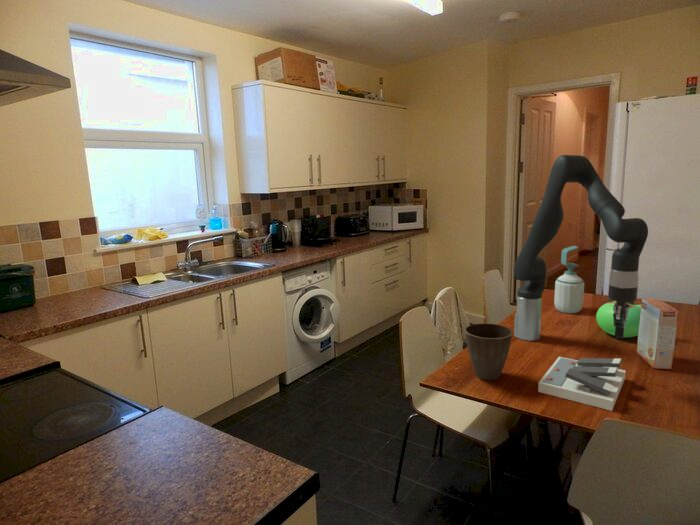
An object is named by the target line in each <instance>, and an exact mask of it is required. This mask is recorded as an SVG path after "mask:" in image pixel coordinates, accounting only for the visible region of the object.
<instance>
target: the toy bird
mask: <svg viewBox="0 0 700 525" xmlns="http://www.w3.org/2000/svg"><path fill="white" fill-rule="evenodd" d="M615 303H616V301H615V302H610V301H609V302H607V303H604V304H603V305H601V306H600V307H599V308H598V310H597V312H596V314H595V320H596V323H597V324H598V326H599V327H600V328H601V330H603V331H604V332H606V333H608V334H609V335H610V336H611V335H612V336H613V337H615V326H614V319H613V314H614V311H613V306H614V305H615ZM627 305H630V309H629V310H628V318H627V322H626V323H625V324H626V325H625V327H624V337H623V338H634V337H638V334H639V324H640V314H641V304H634V303H633V304H630V303H627Z"/></svg>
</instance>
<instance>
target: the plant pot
mask: <svg viewBox="0 0 700 525" xmlns="http://www.w3.org/2000/svg"><path fill="white" fill-rule="evenodd" d="M464 333H465V340H466V345H467V350H468V353H469V357H470V362H471V364H472V368H473V371H474V373H475V375H476V377H477V378H478V379H480V380H484V381H496V380H498V379H499V378H500V377H501V374H502V372H503V369H504V366H505V364H506V361H507V358H508V355H509V353H510V352H509V351H510V347H511V343H512V337H513V330H512V329H510V328H509V327H508V326H505V325H502V324H496V323H488V322H487V323H483V322H482V323H480V322H479V323H472V324H470V325H467V326H466V327H465V328H464Z"/></svg>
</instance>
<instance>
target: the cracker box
mask: <svg viewBox="0 0 700 525" xmlns="http://www.w3.org/2000/svg"><path fill="white" fill-rule="evenodd" d="M640 305H641V314H640V324H639V334H638V335H637V344H636V354H637V355H638V356H639V357H640V358H642V359H643V360H644V361H645V362H646V363H647V364H648V365H649V366H650V367H651V368H652V369H655V370H656V369H658V370H661V369H662V370H672V367H673V360H674V352H675V344H676V343H675V342H676V337H677V336H676V335H677V328H678V319H679V312H680V311H679V310H678V309H677V308H675V307H673V306H671V305H669V304H668V303H666V302H664V300H663V301H662V300H661V299H657V298H642V299H641V304H640Z"/></svg>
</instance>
